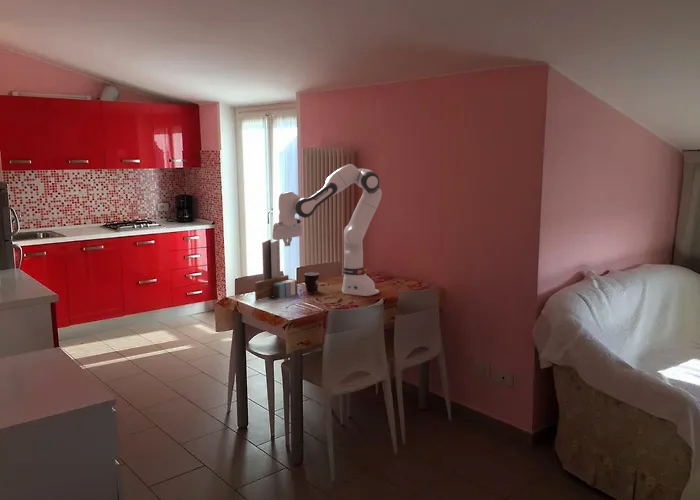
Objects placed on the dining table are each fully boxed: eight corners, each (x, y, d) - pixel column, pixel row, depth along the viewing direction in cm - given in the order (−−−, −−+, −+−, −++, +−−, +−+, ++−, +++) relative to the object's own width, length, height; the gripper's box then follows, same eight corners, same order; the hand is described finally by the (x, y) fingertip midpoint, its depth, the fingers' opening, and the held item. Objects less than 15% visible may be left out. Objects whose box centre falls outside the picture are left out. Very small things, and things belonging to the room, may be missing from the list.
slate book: (290, 295, 337) (290, 282, 335) (286, 297, 334) (285, 283, 332) (284, 294, 340) (283, 280, 338) (279, 295, 337) (279, 282, 335)
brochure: (272, 294, 338) (271, 243, 334) (263, 294, 340) (262, 242, 335) (280, 289, 352) (279, 239, 347) (271, 288, 353) (270, 239, 348)
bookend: (280, 298, 330) (280, 286, 329) (274, 300, 326) (273, 287, 325) (273, 297, 333) (273, 285, 332) (267, 298, 329) (267, 286, 328)
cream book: (295, 294, 340) (295, 280, 338) (291, 295, 337) (290, 281, 336) (289, 293, 343) (288, 279, 341) (284, 294, 340) (284, 280, 339)
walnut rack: (297, 293, 341) (297, 276, 339) (266, 302, 322) (265, 284, 320) (286, 291, 346) (286, 274, 345) (255, 300, 327) (254, 282, 325)
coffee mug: (313, 288, 355) (313, 271, 353) (322, 290, 348) (322, 274, 347) (297, 291, 348) (297, 274, 346) (305, 293, 341) (305, 276, 339)
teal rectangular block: (284, 297, 333) (284, 283, 332) (280, 298, 330) (280, 284, 329) (278, 296, 336) (278, 282, 335) (273, 297, 333) (273, 283, 332)
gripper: (277, 223, 317) (278, 249, 319) (303, 220, 333) (304, 244, 335) (269, 222, 321) (270, 247, 323) (295, 219, 337) (295, 243, 339)
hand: (287, 246), depth 329 cm, fingers closed
